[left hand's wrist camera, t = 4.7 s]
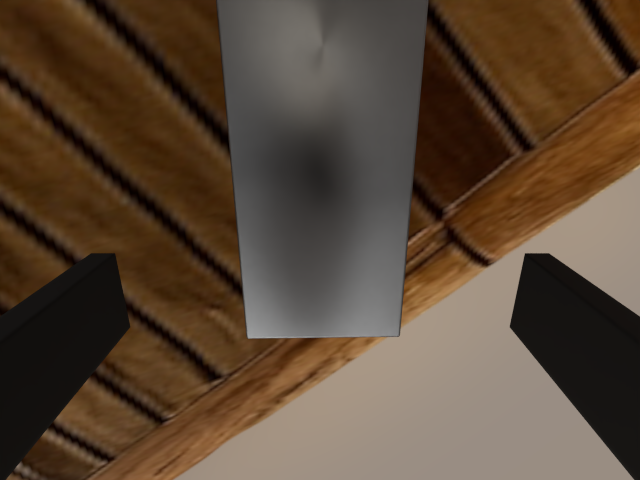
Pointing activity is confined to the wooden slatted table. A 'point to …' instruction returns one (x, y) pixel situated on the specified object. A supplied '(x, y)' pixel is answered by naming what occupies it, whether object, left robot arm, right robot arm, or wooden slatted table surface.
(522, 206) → the wooden slatted table surface
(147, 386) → the wooden slatted table surface
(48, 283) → the left robot arm
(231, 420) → the wooden slatted table surface
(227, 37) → the box
